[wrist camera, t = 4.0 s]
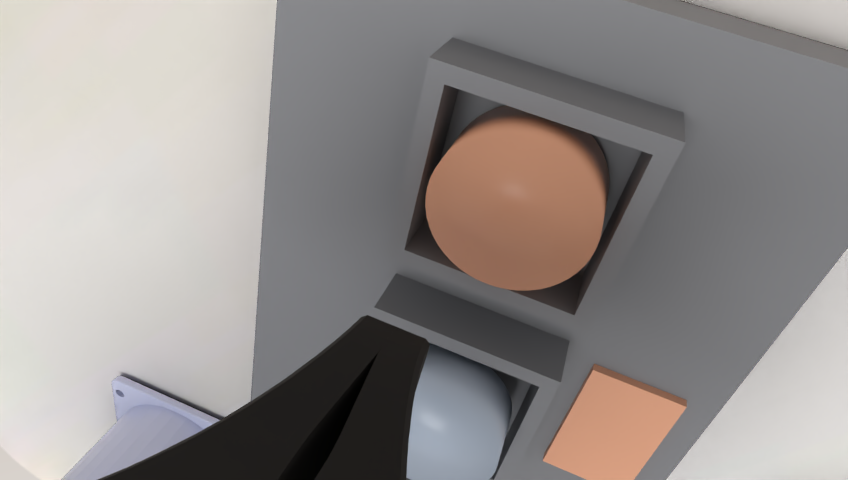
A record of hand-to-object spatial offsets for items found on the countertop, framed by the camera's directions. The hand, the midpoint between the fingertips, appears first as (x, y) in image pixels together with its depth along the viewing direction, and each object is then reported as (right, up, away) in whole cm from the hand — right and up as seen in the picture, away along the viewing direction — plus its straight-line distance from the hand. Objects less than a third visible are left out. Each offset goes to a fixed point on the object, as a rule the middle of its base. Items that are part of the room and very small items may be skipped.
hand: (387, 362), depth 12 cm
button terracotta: (+4, +4, +5) cm, 7 cm away
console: (+3, -1, +11) cm, 12 cm away
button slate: (+2, -3, +9) cm, 9 cm away
